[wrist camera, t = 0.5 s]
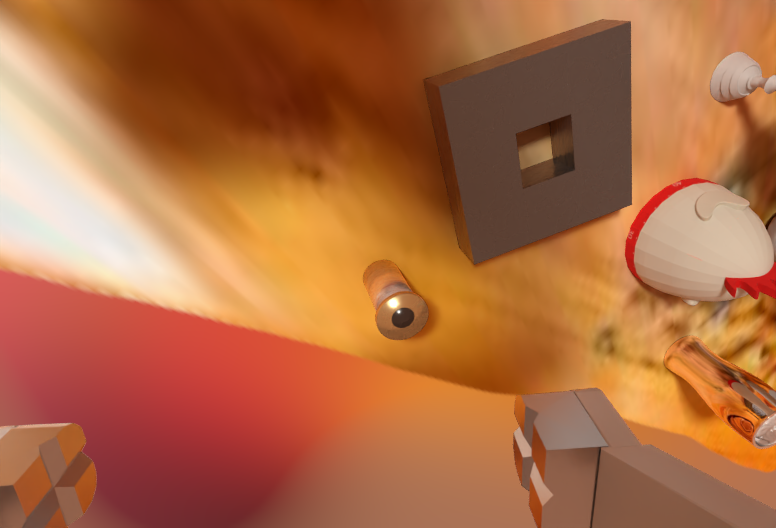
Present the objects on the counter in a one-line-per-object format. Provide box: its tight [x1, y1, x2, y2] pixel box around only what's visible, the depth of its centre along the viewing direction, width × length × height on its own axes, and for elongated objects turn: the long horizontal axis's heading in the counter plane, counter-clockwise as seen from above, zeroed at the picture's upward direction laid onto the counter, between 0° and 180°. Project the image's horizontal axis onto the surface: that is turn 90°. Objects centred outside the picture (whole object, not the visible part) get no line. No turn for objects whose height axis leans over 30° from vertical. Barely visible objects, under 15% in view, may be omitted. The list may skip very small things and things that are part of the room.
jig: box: [424, 19, 632, 264], centre depth 49 cm, size 18×18×4 cm
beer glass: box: [664, 336, 776, 449], centre depth 67 cm, size 7×7×15 cm
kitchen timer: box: [625, 178, 776, 305], centre depth 56 cm, size 14×14×15 cm
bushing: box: [363, 260, 429, 340], centre depth 51 cm, size 5×5×8 cm
